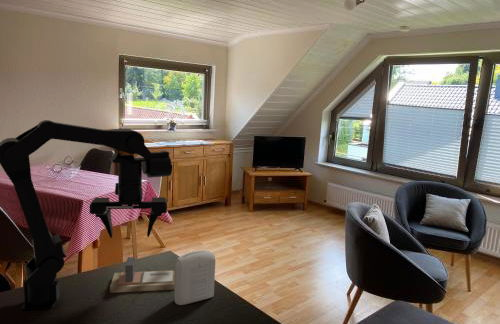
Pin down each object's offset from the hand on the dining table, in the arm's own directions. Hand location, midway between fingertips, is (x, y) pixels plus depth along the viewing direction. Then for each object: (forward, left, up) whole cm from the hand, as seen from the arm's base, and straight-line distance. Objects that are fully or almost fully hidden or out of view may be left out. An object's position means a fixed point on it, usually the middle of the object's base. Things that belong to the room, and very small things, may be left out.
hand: (130, 237), depth 99 cm
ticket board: (+4, -1, -13) cm, 13 cm away
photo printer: (+17, -10, -13) cm, 23 cm away
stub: (0, -1, -11) cm, 11 cm away
